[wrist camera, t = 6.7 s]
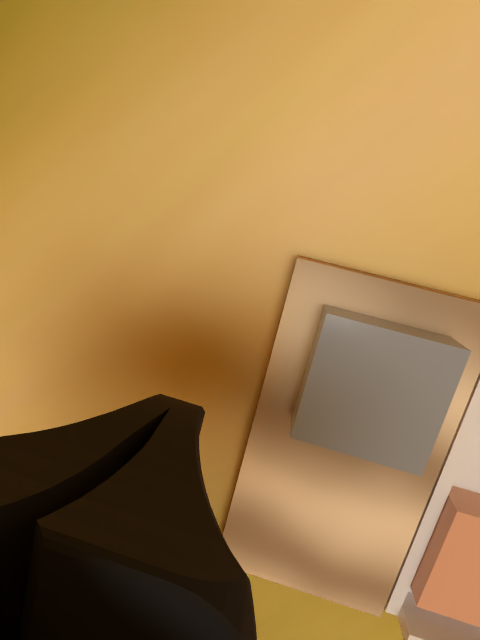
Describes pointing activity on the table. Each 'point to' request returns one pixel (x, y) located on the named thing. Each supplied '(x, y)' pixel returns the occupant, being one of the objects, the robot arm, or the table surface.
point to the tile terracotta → (452, 561)
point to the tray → (458, 470)
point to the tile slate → (376, 389)
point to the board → (334, 467)
